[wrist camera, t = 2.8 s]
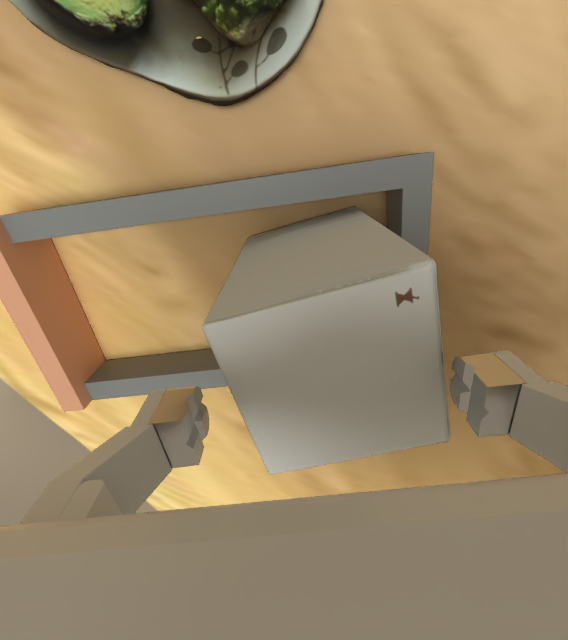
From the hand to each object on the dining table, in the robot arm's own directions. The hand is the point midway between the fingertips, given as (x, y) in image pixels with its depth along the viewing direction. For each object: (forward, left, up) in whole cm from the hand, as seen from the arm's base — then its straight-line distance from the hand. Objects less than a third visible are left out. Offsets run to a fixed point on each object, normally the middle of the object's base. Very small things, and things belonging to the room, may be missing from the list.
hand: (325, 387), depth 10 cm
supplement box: (0, 0, -13) cm, 13 cm away
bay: (+6, 0, -13) cm, 14 cm away
